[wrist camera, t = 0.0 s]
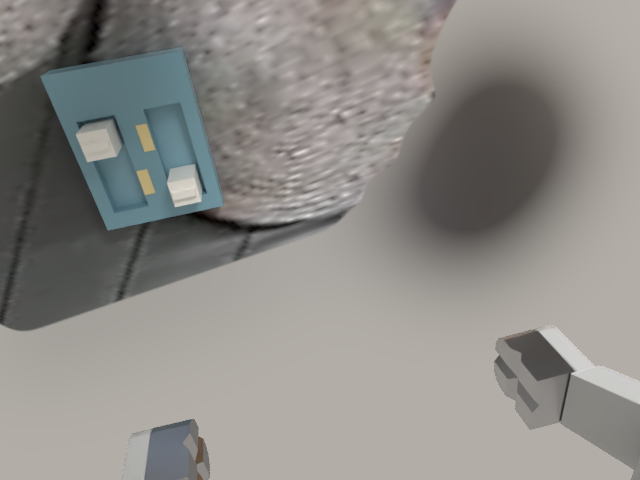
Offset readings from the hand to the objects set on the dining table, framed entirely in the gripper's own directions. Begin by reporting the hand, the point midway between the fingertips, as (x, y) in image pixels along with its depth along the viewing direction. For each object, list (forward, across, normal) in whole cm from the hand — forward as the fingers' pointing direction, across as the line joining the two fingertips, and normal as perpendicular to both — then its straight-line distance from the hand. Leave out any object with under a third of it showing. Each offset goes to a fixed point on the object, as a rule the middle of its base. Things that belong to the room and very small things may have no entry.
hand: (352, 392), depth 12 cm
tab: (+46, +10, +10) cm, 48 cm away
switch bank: (+48, +13, +5) cm, 50 cm away
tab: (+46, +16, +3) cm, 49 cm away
